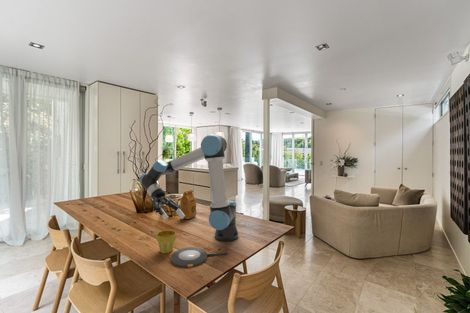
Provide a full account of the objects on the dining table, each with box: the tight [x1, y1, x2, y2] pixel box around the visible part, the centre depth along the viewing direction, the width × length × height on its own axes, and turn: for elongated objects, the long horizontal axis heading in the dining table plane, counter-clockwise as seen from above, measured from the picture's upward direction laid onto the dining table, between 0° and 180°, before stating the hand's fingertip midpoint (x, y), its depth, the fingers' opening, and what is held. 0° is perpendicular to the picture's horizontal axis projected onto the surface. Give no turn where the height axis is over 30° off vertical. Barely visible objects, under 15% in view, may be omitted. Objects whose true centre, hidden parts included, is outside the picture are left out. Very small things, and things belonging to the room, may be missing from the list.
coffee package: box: [180, 189, 197, 220], centre depth 184 cm, size 10×12×22 cm
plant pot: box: [155, 229, 177, 254], centre depth 125 cm, size 10×10×10 cm
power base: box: [170, 246, 229, 268], centre depth 119 cm, size 30×18×2 cm, turn 104°
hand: (175, 218), depth 127 cm, fingers open, 13 cm apart
